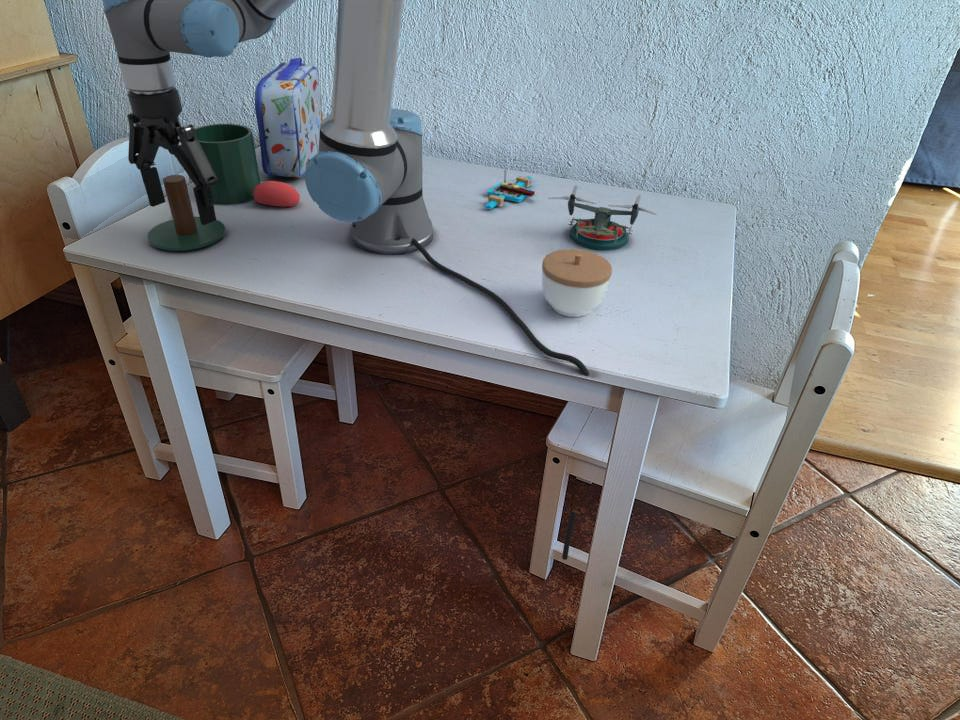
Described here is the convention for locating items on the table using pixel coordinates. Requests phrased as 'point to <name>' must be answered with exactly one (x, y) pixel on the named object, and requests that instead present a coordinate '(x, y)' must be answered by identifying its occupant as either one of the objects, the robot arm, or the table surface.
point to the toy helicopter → (600, 224)
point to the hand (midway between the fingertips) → (182, 213)
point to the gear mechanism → (509, 191)
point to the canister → (230, 161)
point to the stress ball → (276, 194)
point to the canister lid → (183, 222)
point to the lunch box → (288, 118)
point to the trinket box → (575, 281)
